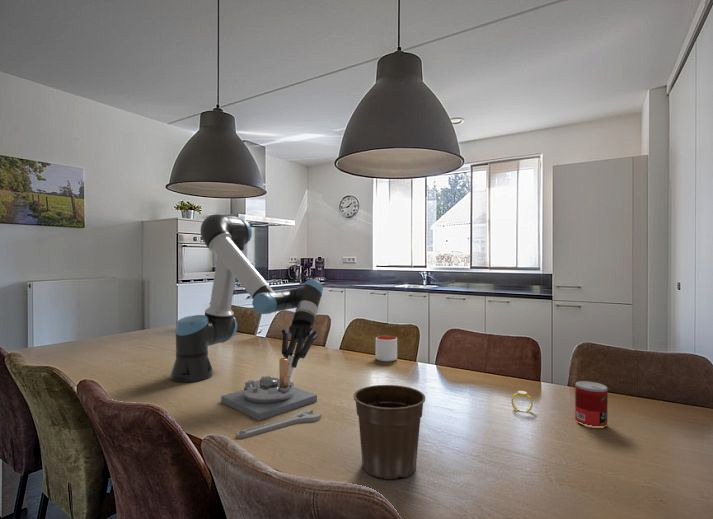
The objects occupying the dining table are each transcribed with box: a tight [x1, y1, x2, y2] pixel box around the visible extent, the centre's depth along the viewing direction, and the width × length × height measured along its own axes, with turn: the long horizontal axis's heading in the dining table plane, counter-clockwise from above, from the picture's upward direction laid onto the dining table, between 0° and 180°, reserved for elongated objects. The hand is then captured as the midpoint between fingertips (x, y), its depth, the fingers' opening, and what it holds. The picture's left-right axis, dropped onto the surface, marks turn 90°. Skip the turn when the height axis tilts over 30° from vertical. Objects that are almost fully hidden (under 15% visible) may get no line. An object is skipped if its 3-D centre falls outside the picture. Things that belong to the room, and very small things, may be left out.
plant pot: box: [353, 384, 426, 480], centre depth 93 cm, size 16×16×16 cm
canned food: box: [574, 380, 609, 426], centre depth 116 cm, size 8×8×11 cm
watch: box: [511, 390, 534, 412], centre depth 126 cm, size 6×3×6 cm, turn 67°
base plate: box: [220, 386, 318, 422], centre depth 133 cm, size 22×22×2 cm
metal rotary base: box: [243, 357, 295, 404], centre depth 133 cm, size 17×16×13 cm
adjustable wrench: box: [236, 409, 323, 439], centre depth 115 cm, size 25×6×2 cm, turn 123°
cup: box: [375, 335, 398, 363], centre depth 188 cm, size 10×10×10 cm
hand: (286, 375), depth 132 cm, fingers closed
